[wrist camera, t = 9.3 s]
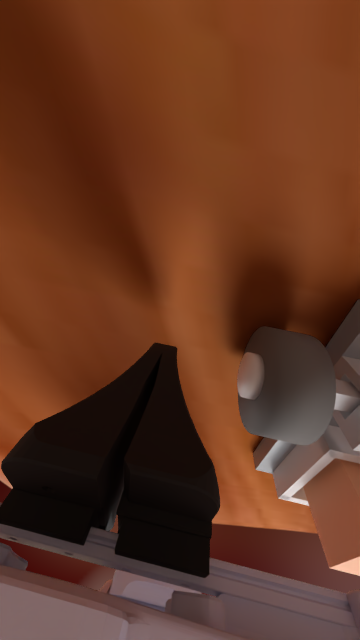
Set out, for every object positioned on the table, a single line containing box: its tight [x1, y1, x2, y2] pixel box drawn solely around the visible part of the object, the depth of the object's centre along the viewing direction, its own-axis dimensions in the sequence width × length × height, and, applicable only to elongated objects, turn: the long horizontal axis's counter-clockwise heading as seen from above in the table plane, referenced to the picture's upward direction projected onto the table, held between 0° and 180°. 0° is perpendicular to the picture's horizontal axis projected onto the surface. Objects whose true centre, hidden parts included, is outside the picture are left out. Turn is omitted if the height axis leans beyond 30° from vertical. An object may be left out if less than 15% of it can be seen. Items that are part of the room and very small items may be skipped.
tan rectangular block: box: [303, 458, 360, 576], centre depth 14 cm, size 6×4×6 cm
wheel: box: [237, 326, 360, 445], centre depth 11 cm, size 6×6×6 cm
